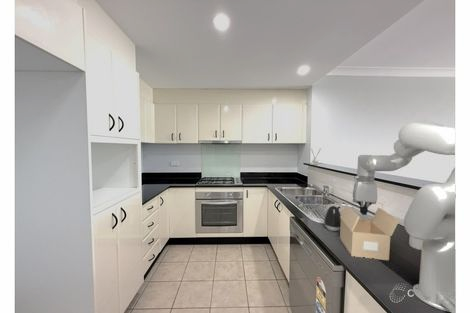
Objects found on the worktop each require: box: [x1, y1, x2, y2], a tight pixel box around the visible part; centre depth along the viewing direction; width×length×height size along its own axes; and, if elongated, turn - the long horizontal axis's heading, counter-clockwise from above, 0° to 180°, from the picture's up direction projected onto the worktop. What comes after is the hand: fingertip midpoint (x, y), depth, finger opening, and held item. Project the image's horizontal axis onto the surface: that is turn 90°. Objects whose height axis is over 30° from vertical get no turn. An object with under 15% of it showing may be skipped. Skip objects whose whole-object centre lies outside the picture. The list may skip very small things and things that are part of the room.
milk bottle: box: [408, 235, 424, 251], centre depth 111 cm, size 8×8×20 cm
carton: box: [339, 219, 391, 261], centre depth 109 cm, size 20×16×12 cm
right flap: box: [371, 207, 400, 237], centre depth 107 cm, size 20×8×1 cm
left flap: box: [340, 204, 360, 232], centre depth 110 cm, size 20×8×1 cm
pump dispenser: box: [323, 205, 341, 232], centre depth 132 cm, size 10×10×15 cm
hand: (363, 214), depth 108 cm, fingers closed
